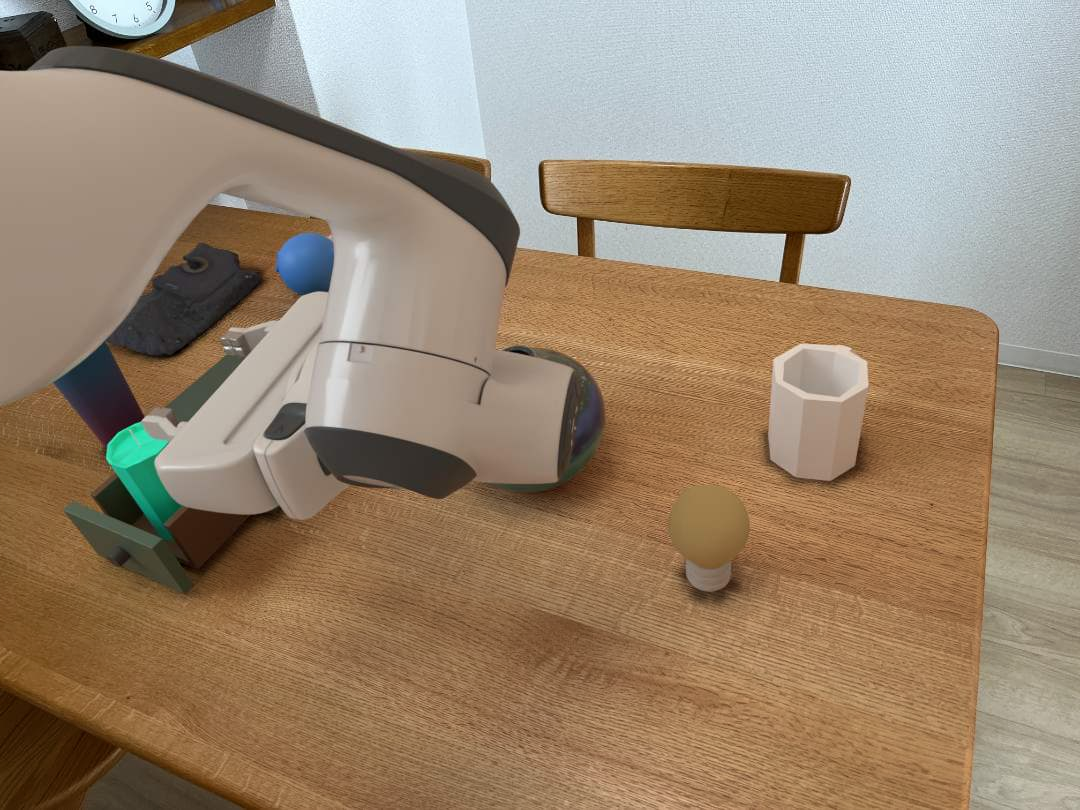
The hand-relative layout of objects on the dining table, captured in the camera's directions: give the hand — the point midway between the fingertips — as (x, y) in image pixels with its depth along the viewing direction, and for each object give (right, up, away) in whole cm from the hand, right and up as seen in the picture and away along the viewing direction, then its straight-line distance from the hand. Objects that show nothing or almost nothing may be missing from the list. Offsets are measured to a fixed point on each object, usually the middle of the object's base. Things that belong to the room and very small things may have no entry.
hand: (191, 379), depth 60 cm
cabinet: (-3, -7, +29) cm, 30 cm away
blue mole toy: (-4, +15, +55) cm, 57 cm away
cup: (-21, -6, +34) cm, 40 cm away
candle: (-9, -13, +20) cm, 26 cm away
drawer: (-9, -14, +21) cm, 27 cm away
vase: (+25, -8, +23) cm, 35 cm away
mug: (+53, -5, +19) cm, 57 cm away
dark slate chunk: (-25, +12, +55) cm, 61 cm away
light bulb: (+40, -17, +9) cm, 45 cm away
